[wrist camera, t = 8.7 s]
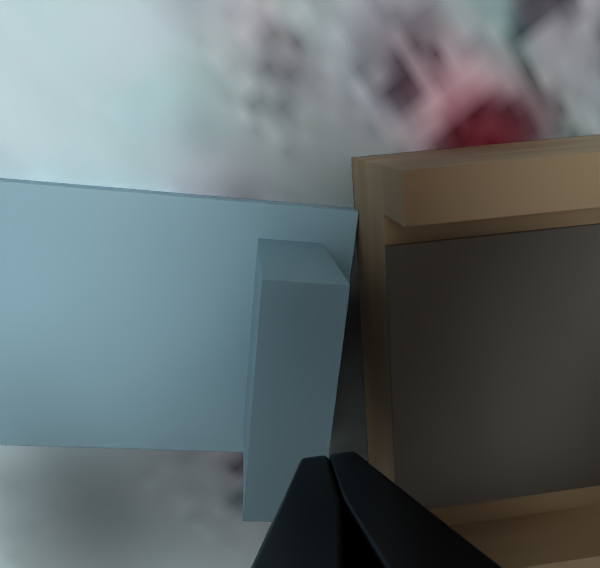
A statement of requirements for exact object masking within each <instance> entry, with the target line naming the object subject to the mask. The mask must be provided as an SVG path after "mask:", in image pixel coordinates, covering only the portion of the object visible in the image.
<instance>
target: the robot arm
mask: <svg viewBox="0 0 600 568" xmlns="http://www.w3.org/2000/svg"><path fill="white" fill-rule="evenodd" d="M251 568H502V567H501V566H500V565H498V564H497V563H496V562H495V561H493V560H492V559H491V558H490V557H488V556H487V555H486V554H484V553H483V552H482V551H481V550H479V549H478V548H477V547H475V546H474V545H473V544H472V543H470V542H469V541H468V540H467V539H465V538H464V537H463V536H461V535H460V534H459V533H458V532H456V531H455V530H454V529H452V528H451V527H450V526H449V525H447V524H446V523H445V522H444V521H442V520H441V519H440V518H438V517H437V516H436V515H435V514H433V513H432V512H431V511H429V510H428V509H427V508H426V507H424V506H423V505H422V504H421V503H419V502H418V501H417V500H415V499H414V498H413V497H412V496H410V495H409V494H408V493H406V492H405V491H404V490H403V489H401V488H400V487H399V486H398V485H396V484H395V483H394V482H392V481H391V480H390V479H389V478H387V477H386V476H385V475H383V474H382V473H381V472H380V471H378V470H377V469H376V468H375V467H373V466H372V465H371V464H369V463H368V462H367V461H366V460H364V459H363V458H362V457H360V456H359V455H358V454H357V453H355V452H344V453H337V454H332V455H330V456H329V459H328V458H327V456H324V455H322V456H314V457H306V458H303V459H302V460H301V461H300V463H299V465H298V467H297V469H296V471H295V474H294V476H293V478H292V480H291V482H290V484H289V487H288V489H287V491H286V493H285V495H284V497H283V500H282V502H281V504H280V506H279V508H278V510H277V513H276V515H275V517H274V519H273V521H272V523H271V526H270V528H269V530H268V532H267V534H266V537H265V539H264V541H263V543H262V545H261V547H260V550H259V552H258V554H257V556H256V558H255V560H254V563H253V565H252V567H251Z"/></svg>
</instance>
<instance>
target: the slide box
mask: <svg viewBox="0 0 600 568" xmlns="http://www.w3.org/2000/svg"><path fill="white" fill-rule="evenodd" d="M352 175H353V193H354V209H356V210H357V211H358V220H357V228H356V246H357V264H358V282H359V300H360V318H361V336H362V354H363V372H364V389H365V407H366V425H367V443H368V461H369V464H371V465H372V466H373V467H375V468H376V469H377V470H378V471H380V472H381V473H382V474H383V475H385V476H386V477H387V478H389V479H390V480H391V481H392V482H394V483H395V484H396V485H398V486H399V487H400V488H401V489H403V490H404V491H405V492H406V493H408V494H409V495H410V496H412V497H413V498H414V499H415V500H417V501H418V502H419V503H421V504H422V505H423V506H424V507H426V508H427V509H428V510H429V511H431V512H432V513H433V514H435V515H436V516H437V517H438V518H440V519H441V520H442V521H444V522H445V523H446V524H447V525H449V526H450V527H451V528H452V529H454V530H455V531H456V532H458V533H459V534H460V535H461V536H463V537H464V538H465V539H467V540H468V541H469V542H470V543H472V544H473V545H474V546H475V547H477V548H478V549H479V550H481V551H482V552H483V553H484V554H486V555H487V556H488V557H490V558H491V559H492V560H493V561H495V562H496V563H497V564H498V565H500V566H501V567H502V568H600V135H589V136H578V137H568V138H557V139H546V140H535V141H524V142H514V143H503V144H492V145H481V146H470V147H459V148H449V149H438V150H427V151H416V152H405V153H395V154H384V155H373V156H362V157H352Z"/></svg>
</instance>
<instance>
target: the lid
mask: <svg viewBox="0 0 600 568" xmlns="http://www.w3.org/2000/svg"><path fill="white" fill-rule="evenodd" d="M357 220H358V211H357V210H356V209H354V208H349V207H337V206H325V205H314V204H302V203H290V202H278V201H266V200H255V199H243V198H231V197H219V196H207V195H195V194H184V193H172V192H160V191H148V190H136V189H124V188H113V187H101V186H89V185H77V184H65V183H53V182H42V181H30V180H18V179H6V178H0V445H22V446H55V447H89V448H122V449H155V450H189V451H222V452H243V521H270V522H272V521H273V519H274V517H275V515H276V513H277V510H278V508H279V506H280V504H281V502H282V500H283V497H284V495H285V493H286V491H287V489H288V487H289V484H290V482H291V480H292V478H293V476H294V474H295V471H296V469H297V467H298V465H299V463H300V461H301V460H302V459H303V458H306V457H314V456H322V455H324V456H327V458H328V457H329V449H330V441H331V433H332V425H333V417H334V409H335V402H336V394H337V386H338V378H339V370H340V362H341V354H342V346H343V338H344V330H345V322H346V314H347V307H348V299H349V291H350V284H349V283H350V275H351V267H352V259H353V251H354V244H355V236H356V228H357Z"/></svg>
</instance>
